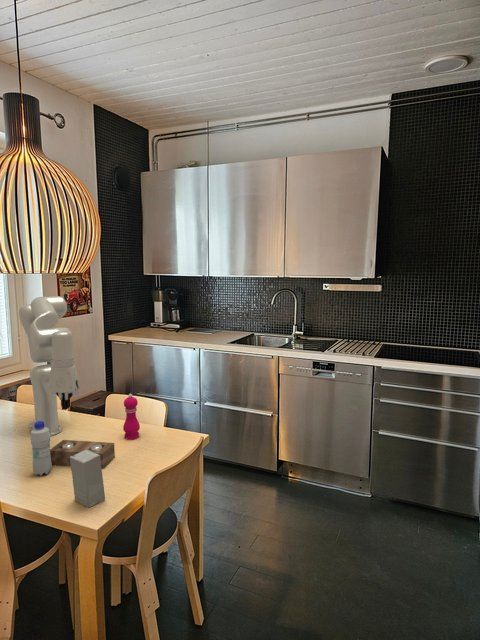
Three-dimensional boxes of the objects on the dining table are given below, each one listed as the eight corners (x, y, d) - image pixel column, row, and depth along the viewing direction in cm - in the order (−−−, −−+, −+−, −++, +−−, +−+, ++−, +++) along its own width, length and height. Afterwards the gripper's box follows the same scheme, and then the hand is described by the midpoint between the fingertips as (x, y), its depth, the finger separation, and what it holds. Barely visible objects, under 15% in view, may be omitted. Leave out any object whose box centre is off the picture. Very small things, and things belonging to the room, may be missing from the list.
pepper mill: (142, 434, 192) (140, 391, 189) (136, 440, 185) (135, 396, 182) (127, 433, 193) (125, 391, 190) (121, 439, 186) (119, 396, 183)
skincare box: (105, 500, 138) (103, 454, 136) (86, 510, 132) (83, 462, 130) (90, 491, 143) (88, 447, 141) (71, 500, 138) (68, 455, 136)
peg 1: (61, 461, 165) (60, 446, 164) (66, 456, 169) (65, 442, 168) (70, 461, 164) (69, 447, 163) (76, 457, 168) (75, 442, 167)
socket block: (49, 465, 162) (48, 450, 161) (64, 453, 172) (63, 439, 171) (103, 468, 159) (102, 453, 158) (114, 457, 169) (114, 442, 168)
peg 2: (90, 463, 163) (89, 448, 162) (94, 458, 167) (94, 444, 166) (99, 463, 162) (99, 449, 162) (104, 459, 166) (103, 444, 166)
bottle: (39, 479, 152) (36, 426, 149) (29, 474, 155) (25, 422, 152) (56, 471, 157) (53, 420, 155) (45, 467, 161) (42, 416, 158)
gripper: (39, 364, 159) (42, 411, 161) (76, 366, 157) (78, 413, 159) (51, 360, 166) (53, 404, 169) (86, 361, 164) (88, 406, 167)
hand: (65, 408), depth 164 cm, fingers closed
